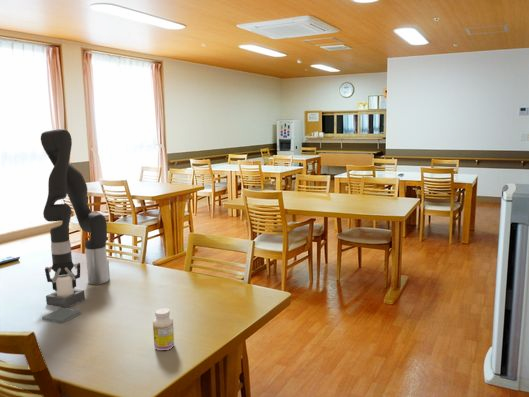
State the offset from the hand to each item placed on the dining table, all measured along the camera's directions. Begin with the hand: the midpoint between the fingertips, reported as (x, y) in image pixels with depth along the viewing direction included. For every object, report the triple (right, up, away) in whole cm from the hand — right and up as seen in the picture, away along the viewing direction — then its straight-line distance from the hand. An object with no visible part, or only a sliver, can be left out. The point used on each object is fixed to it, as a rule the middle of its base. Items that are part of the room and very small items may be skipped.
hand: (64, 289), depth 196 cm
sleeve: (0, -6, +1) cm, 6 cm away
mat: (+5, -8, -14) cm, 17 cm away
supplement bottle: (+51, -12, -40) cm, 66 cm away
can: (0, -6, +1) cm, 6 cm away
